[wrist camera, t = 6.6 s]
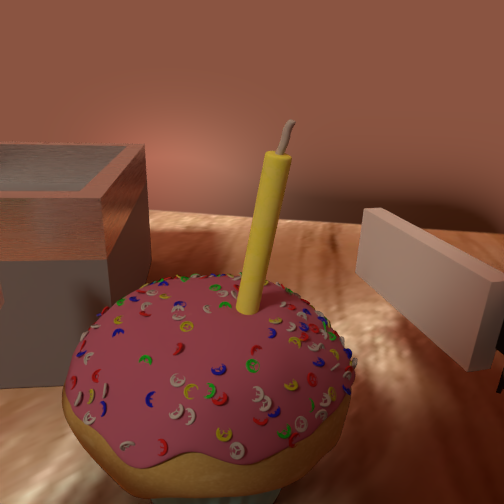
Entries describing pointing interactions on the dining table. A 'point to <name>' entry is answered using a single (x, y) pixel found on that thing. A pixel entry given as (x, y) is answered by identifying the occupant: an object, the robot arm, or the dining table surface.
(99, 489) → the dining table surface
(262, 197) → the cupcake
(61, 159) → the collar
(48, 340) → the gray open box
